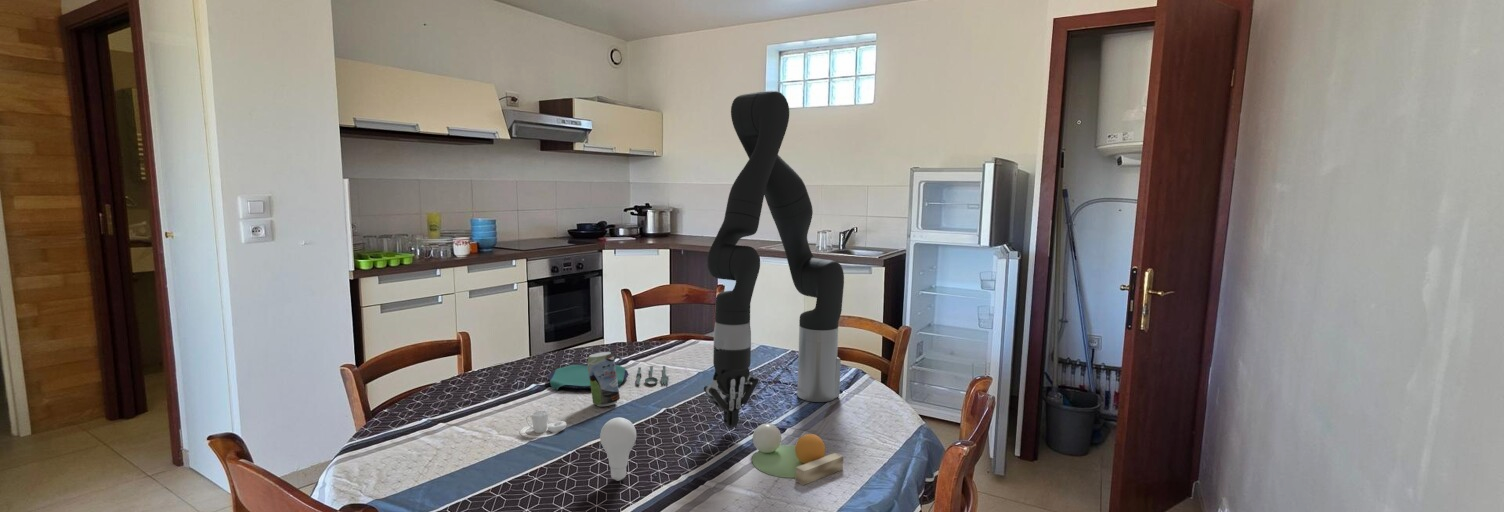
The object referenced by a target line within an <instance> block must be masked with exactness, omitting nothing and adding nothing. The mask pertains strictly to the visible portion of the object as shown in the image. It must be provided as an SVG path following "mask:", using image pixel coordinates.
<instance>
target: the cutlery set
mask: <svg viewBox="0 0 1504 512" xmlns="http://www.w3.org/2000/svg"><path fill="white" fill-rule="evenodd" d="M615 367H616V374H617V382H618V386H620V385H622V383H623V382H624V381H625V380H626V379H628V376H630V375H629V372H628V370H627V369H626V367H625V366H621V365H618V364H615ZM641 370H642V367H639V366H638V371H637V373H636V381H635V383H636V386H640V382H641V378H642V373H641ZM653 371H654V366H653V365H650V366H649V375H650V376H649V377H646V378H645V379H644V382H645V384H647V385H650V386H651V385H655V384H657V383H658V381H659V380H658V378H656V377H655V376H653ZM666 372H667V370H666V365H663V366H662V376H660V381H661V386H663V385H669V380H670V379H669V378H670V377H669V376H667V374H666ZM547 380H548V382H549V383H550V384H549V385H550V386H551V388H552V389H553V390H556V391H558V390H559V388H560V387H561V388H567V389H584V390H585V389H591V386H590V379H589V372H588V364H587V363H586V364H571V365H567V366H562V367H559V368H556V369H555V370H554V371H553V372H551V373H549V375H548V379H547ZM650 382H653V383H650Z"/></svg>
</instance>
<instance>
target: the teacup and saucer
mask: <svg viewBox="0 0 1504 512" xmlns="http://www.w3.org/2000/svg"><path fill="white" fill-rule="evenodd" d="M529 417H530V418H531V420H532V421H531V423H532V424H531V423H530V422H529V420H528V419H529ZM525 420H526V423H527V424H528V425H526V426H524V427H523V428H521V429H520V431H519V434H520V435H521V436H522V437H524V438H529V439H539V438H548V437H552V436H554V435H557V434H559V432H561V431H563V430H565V429H566V428H567V422H566V421H563V420H561V421H560V420H558V421H554V422H551V423H550V422H549V421H548V420H549V413H548V411H545V410H538V411H533V412H532V413H531V414H527V416H526V418H525ZM548 422H549V423H548ZM528 429H532V430H533V431H534V432H535V433H536V434H537V433H539V434H541V433H545V432H546V431H547V430H548V432H550V433H549V434H545V435H530V434H527V433H526V431H527V430H528Z"/></svg>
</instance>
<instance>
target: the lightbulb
mask: <svg viewBox="0 0 1504 512" xmlns="http://www.w3.org/2000/svg"><path fill="white" fill-rule="evenodd" d="M636 439H637V429H636V427H635V425H634V424H633V422H631V420H629V419H627V418H624V417H619V416H618V417H614V418H611V419H609V420H608V421H606V423H604V425H603V426H602V428H601V430H600V434H599V440H600V444H601V446H602V448H603V449H604V451H605V453H606V455H607V458H608V466H609V467H610V477H611V479H613V480H615V481H617V482H619V481H622V480H623V479H625V478H626V476H627V466H628V464H629V456H630V453H631V451H632V449H633V447H634V445H635V443H636V441H637V440H636Z"/></svg>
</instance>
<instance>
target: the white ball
mask: <svg viewBox="0 0 1504 512" xmlns="http://www.w3.org/2000/svg"><path fill="white" fill-rule="evenodd" d="M752 442H753V445H754V447H755V448H756V450H757V451H761V452H763V453H772V452H774V451H775V450H777V449H778V447H779V446H780V445H781V444H782V433H781V431H780V429H779V428H778V426H776V425H775V424H772V423H767V422H766V423H762V424H760V425H758V426H757V427H756V428H755V430H754V431H753V434H752Z"/></svg>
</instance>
